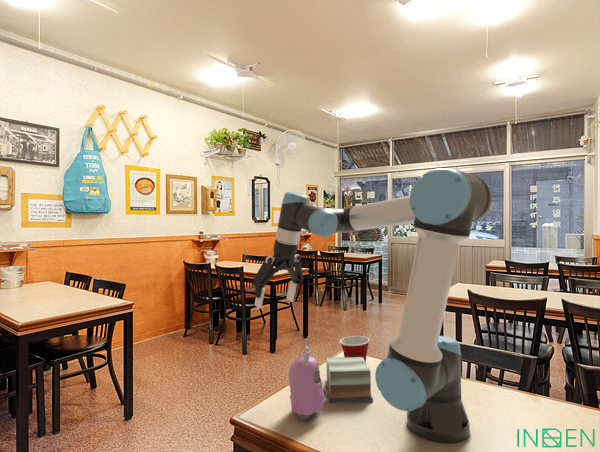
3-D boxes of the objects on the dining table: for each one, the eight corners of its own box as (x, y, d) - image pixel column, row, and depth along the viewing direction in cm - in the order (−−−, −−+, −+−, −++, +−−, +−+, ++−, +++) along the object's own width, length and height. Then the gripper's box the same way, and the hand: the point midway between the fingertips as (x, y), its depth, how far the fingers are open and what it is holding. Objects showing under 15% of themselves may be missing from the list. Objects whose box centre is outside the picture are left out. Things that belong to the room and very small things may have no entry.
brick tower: (372, 401, 109) (372, 371, 109) (329, 402, 109) (328, 372, 109) (364, 383, 122) (363, 356, 122) (325, 384, 122) (324, 357, 122)
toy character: (323, 427, 95) (322, 350, 95) (284, 424, 97) (283, 348, 97) (329, 405, 107) (328, 336, 107) (294, 402, 109) (293, 335, 109)
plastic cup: (340, 366, 138) (339, 334, 138) (369, 367, 136) (369, 335, 136) (339, 378, 127) (338, 343, 127) (371, 379, 125) (370, 344, 125)
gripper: (306, 237, 127) (294, 293, 131) (247, 238, 109) (236, 304, 114) (322, 243, 122) (309, 302, 126) (263, 246, 104) (250, 315, 108)
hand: (274, 303), depth 120 cm, fingers open, 13 cm apart
